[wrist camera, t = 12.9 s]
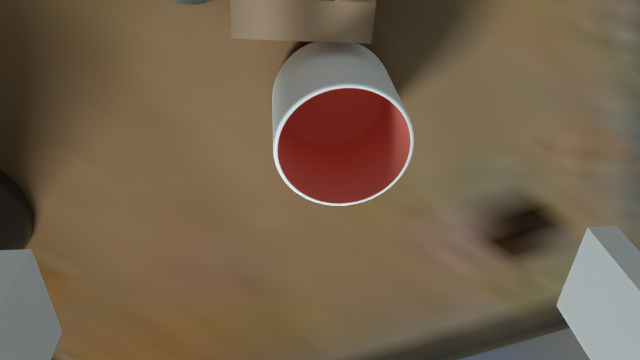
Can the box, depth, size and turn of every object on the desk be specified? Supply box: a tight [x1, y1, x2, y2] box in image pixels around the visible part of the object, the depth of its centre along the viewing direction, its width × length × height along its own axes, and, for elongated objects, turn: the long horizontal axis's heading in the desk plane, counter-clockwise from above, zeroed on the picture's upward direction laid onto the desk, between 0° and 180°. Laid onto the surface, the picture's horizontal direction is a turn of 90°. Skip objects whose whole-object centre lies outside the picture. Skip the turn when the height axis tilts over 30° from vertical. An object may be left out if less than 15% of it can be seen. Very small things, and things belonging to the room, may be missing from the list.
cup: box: [272, 42, 414, 206], centre depth 41 cm, size 10×10×10 cm
